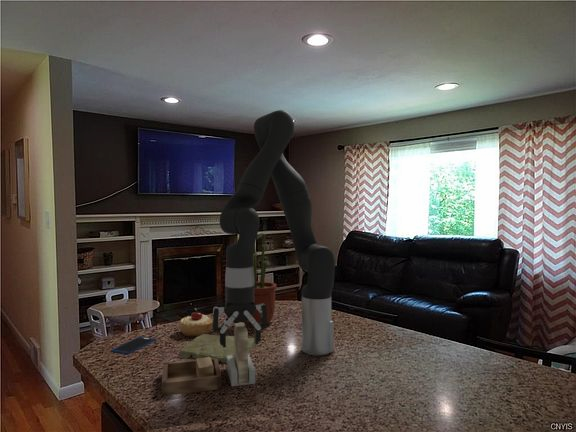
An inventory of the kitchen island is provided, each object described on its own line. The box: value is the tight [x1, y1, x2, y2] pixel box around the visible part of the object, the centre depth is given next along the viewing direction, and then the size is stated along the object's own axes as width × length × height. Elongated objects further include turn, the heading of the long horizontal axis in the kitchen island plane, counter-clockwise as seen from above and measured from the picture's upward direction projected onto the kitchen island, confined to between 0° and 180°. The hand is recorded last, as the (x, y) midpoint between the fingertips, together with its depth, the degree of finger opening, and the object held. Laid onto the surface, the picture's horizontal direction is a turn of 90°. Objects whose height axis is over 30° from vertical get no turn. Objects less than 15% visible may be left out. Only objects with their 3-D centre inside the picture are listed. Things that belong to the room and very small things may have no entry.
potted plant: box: [248, 232, 277, 324], centre depth 153 cm, size 17×16×35 cm
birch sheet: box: [233, 322, 249, 383], centre depth 104 cm, size 2×9×13 cm, turn 14°
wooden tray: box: [161, 358, 223, 397], centre depth 101 cm, size 14×12×4 cm
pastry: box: [178, 307, 213, 338], centre depth 142 cm, size 12×12×9 cm
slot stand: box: [226, 353, 256, 387], centre depth 104 cm, size 6×11×4 cm, turn 15°
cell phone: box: [110, 336, 157, 355], centre depth 129 cm, size 7×14×1 cm, turn 161°
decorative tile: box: [178, 333, 258, 364], centre depth 123 cm, size 19×20×4 cm
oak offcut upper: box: [195, 357, 214, 377], centre depth 101 cm, size 4×6×2 cm, turn 19°
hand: (240, 344), depth 104 cm, fingers open, 8 cm apart
